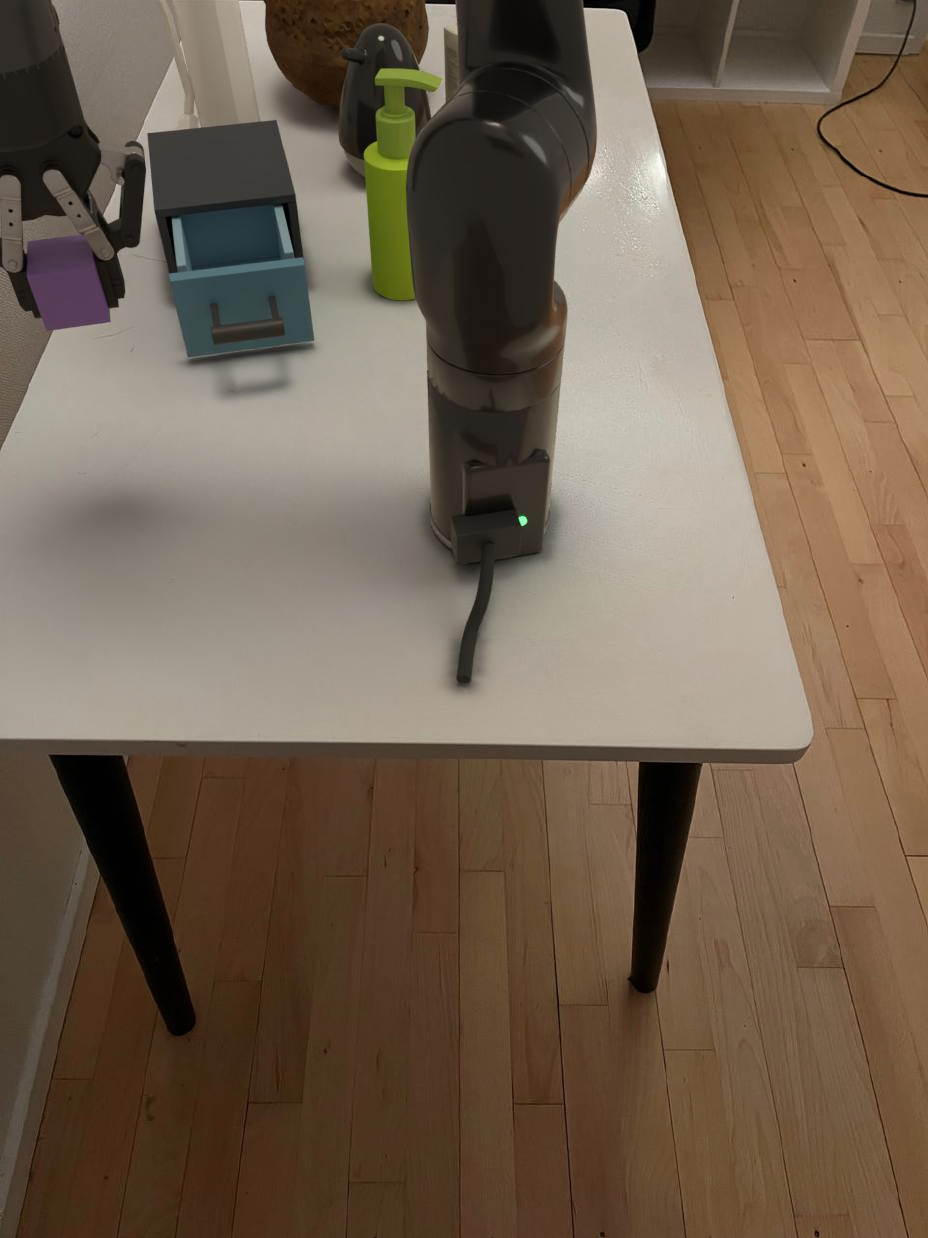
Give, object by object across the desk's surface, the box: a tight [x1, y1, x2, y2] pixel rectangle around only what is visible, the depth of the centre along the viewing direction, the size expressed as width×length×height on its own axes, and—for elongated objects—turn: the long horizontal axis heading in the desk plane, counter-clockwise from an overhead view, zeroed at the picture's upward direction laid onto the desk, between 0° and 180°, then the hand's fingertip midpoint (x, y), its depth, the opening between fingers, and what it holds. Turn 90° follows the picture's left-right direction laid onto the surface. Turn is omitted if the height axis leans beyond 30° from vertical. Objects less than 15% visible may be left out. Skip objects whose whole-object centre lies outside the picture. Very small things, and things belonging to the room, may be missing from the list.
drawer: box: [168, 204, 315, 358], centre depth 95 cm, size 18×11×8 cm, turn 13°
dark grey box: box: [146, 119, 305, 275], centre depth 103 cm, size 15×13×10 cm
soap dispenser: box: [364, 69, 443, 301], centre depth 96 cm, size 6×7×20 cm
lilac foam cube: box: [26, 234, 111, 332], centre depth 71 cm, size 4×4×4 cm
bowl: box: [263, 0, 430, 109], centre depth 123 cm, size 19×19×15 cm
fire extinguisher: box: [154, 0, 261, 130], centre depth 110 cm, size 7×12×25 cm, turn 103°
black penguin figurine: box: [337, 23, 432, 178], centre depth 112 cm, size 10×10×15 cm
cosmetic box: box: [443, 22, 459, 103], centre depth 117 cm, size 6×4×12 cm
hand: (77, 305), depth 72 cm, fingers closed on lilac foam cube, 4 cm apart
